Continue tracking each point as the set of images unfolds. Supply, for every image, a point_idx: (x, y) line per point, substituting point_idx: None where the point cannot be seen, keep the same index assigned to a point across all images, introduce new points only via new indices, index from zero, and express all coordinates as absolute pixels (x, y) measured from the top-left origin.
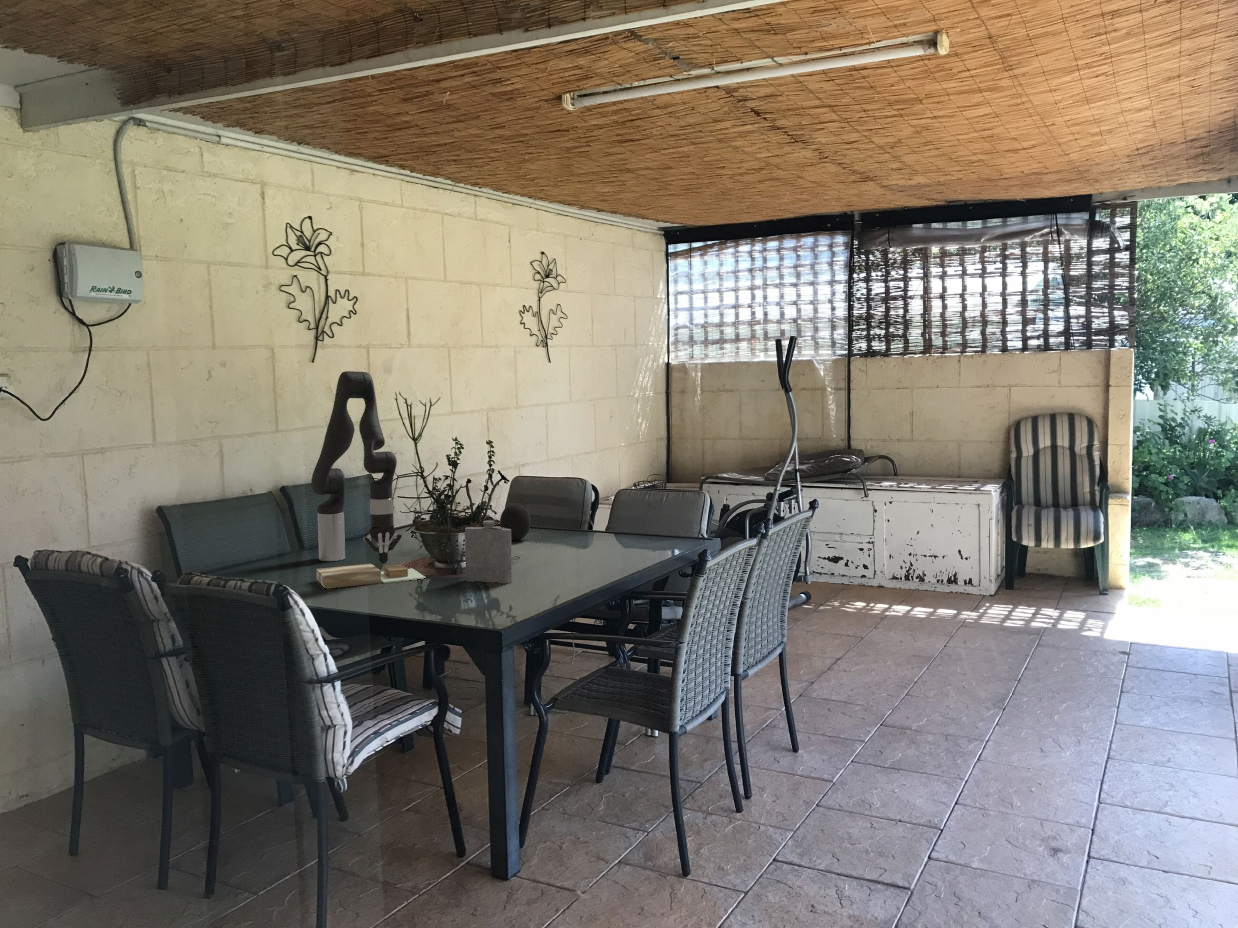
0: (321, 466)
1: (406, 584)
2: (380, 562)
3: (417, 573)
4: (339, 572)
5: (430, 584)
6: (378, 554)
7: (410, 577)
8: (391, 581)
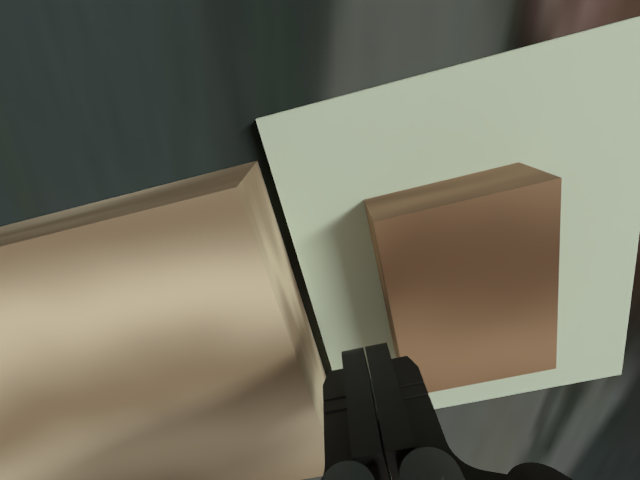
0: None
1: (466, 452)
2: (343, 356)
3: (617, 256)
4: (29, 468)
5: (582, 472)
6: (328, 457)
7: None
8: None
